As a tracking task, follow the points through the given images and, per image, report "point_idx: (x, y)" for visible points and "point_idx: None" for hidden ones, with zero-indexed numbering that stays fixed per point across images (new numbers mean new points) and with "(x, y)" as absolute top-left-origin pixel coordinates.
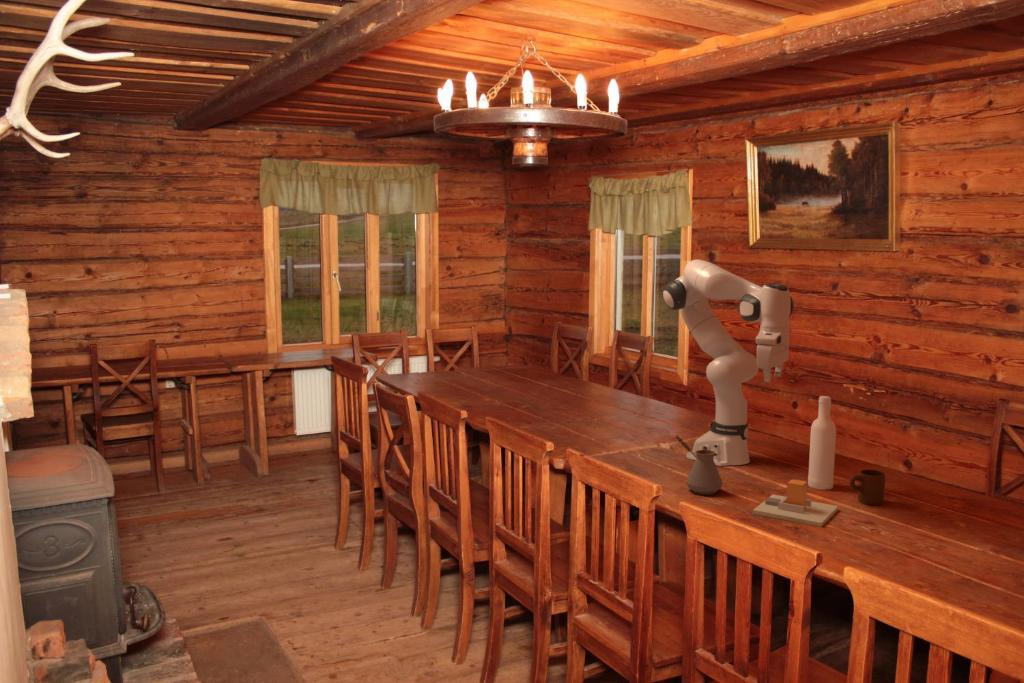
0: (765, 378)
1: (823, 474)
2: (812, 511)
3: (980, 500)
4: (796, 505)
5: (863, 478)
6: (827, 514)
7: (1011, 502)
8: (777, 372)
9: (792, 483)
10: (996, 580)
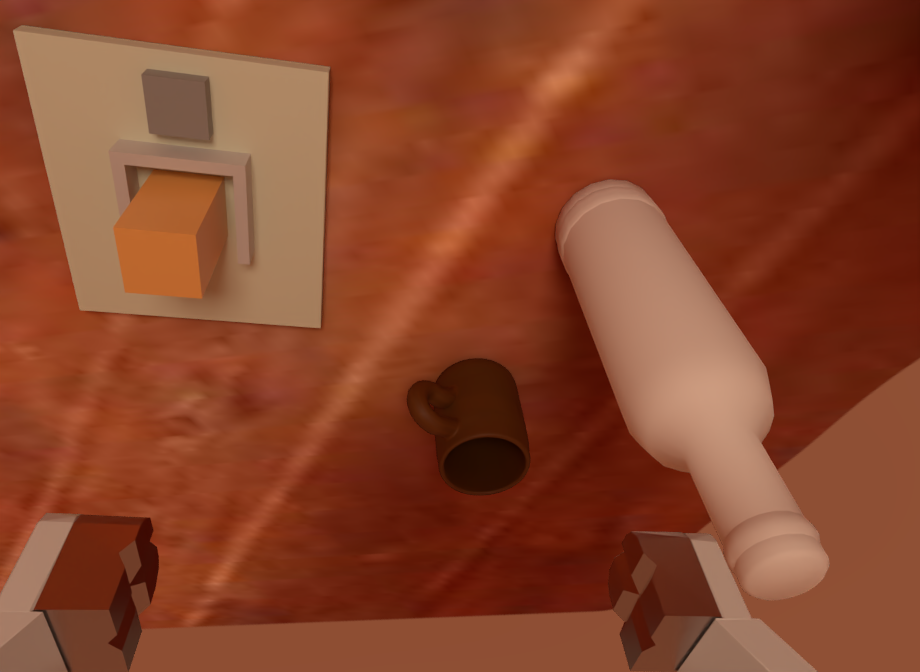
0: (21, 576)
1: (569, 276)
2: None
3: (607, 569)
4: None
5: (443, 437)
6: (194, 312)
7: None
8: (639, 640)
9: (120, 249)
10: None
